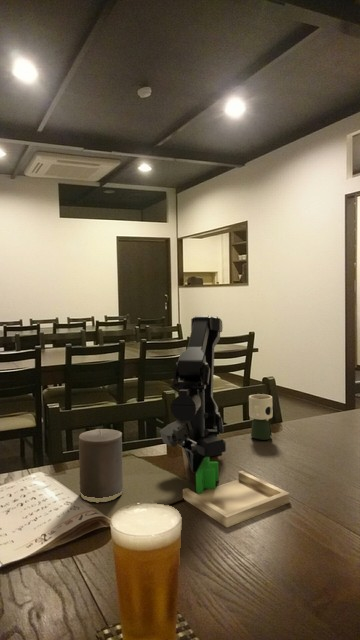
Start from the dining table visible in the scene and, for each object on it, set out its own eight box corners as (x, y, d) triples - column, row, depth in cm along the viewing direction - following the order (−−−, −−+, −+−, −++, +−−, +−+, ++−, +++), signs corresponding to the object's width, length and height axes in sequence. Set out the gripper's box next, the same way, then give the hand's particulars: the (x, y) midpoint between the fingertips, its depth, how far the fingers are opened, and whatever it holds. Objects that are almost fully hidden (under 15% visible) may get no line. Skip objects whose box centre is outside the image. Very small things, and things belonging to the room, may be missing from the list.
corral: (182, 498, 97) (182, 489, 97) (242, 478, 107) (242, 470, 107) (226, 527, 85) (226, 517, 85) (289, 502, 94) (289, 493, 94)
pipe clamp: (212, 495, 98) (212, 474, 98) (196, 494, 99) (195, 473, 99) (220, 475, 109) (219, 456, 109) (205, 474, 110) (205, 456, 110)
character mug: (267, 445, 130) (266, 401, 129) (244, 442, 133) (243, 399, 132) (277, 434, 139) (276, 393, 138) (255, 431, 142) (254, 392, 142)
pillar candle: (86, 507, 94) (85, 438, 94) (75, 490, 103) (73, 426, 102) (129, 497, 99) (128, 431, 98) (115, 481, 108) (113, 420, 107)
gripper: (145, 406, 111) (147, 467, 112) (186, 424, 95) (188, 494, 96) (182, 399, 117) (183, 457, 118) (226, 415, 101) (228, 481, 102)
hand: (194, 471), depth 109 cm, fingers closed
